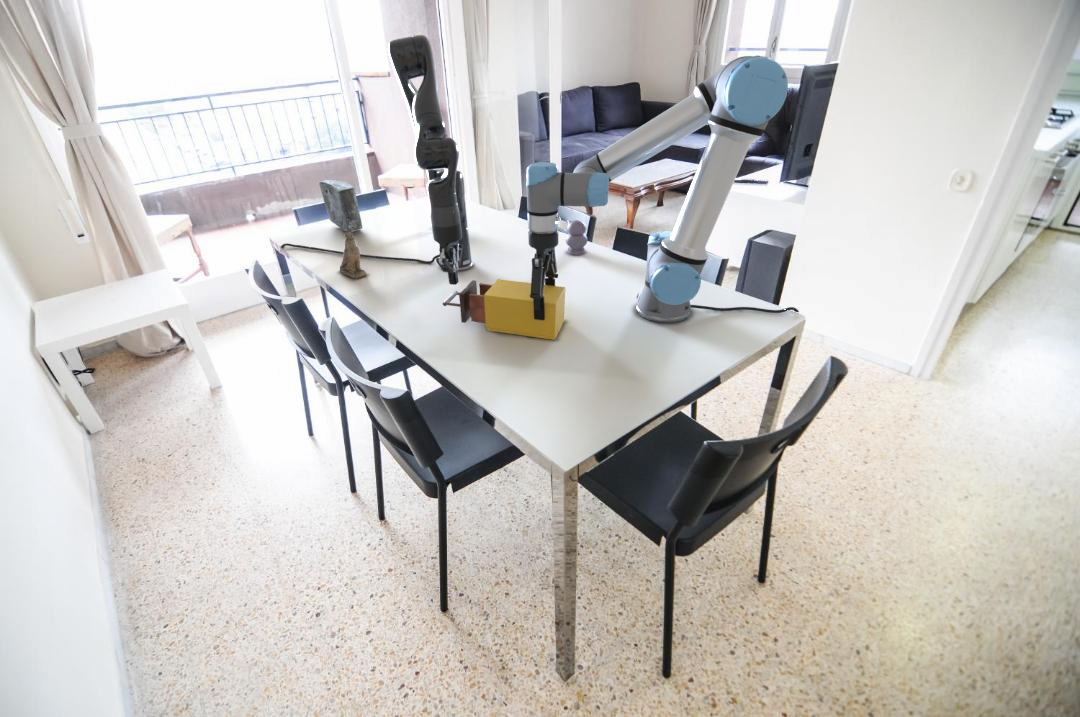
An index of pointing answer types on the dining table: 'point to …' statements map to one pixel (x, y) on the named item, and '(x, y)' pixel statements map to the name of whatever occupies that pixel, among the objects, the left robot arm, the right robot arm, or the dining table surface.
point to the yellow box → (523, 309)
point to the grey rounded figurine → (576, 237)
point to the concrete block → (341, 204)
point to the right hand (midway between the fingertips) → (545, 309)
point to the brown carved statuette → (351, 258)
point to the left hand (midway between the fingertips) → (454, 283)
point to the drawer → (471, 302)
